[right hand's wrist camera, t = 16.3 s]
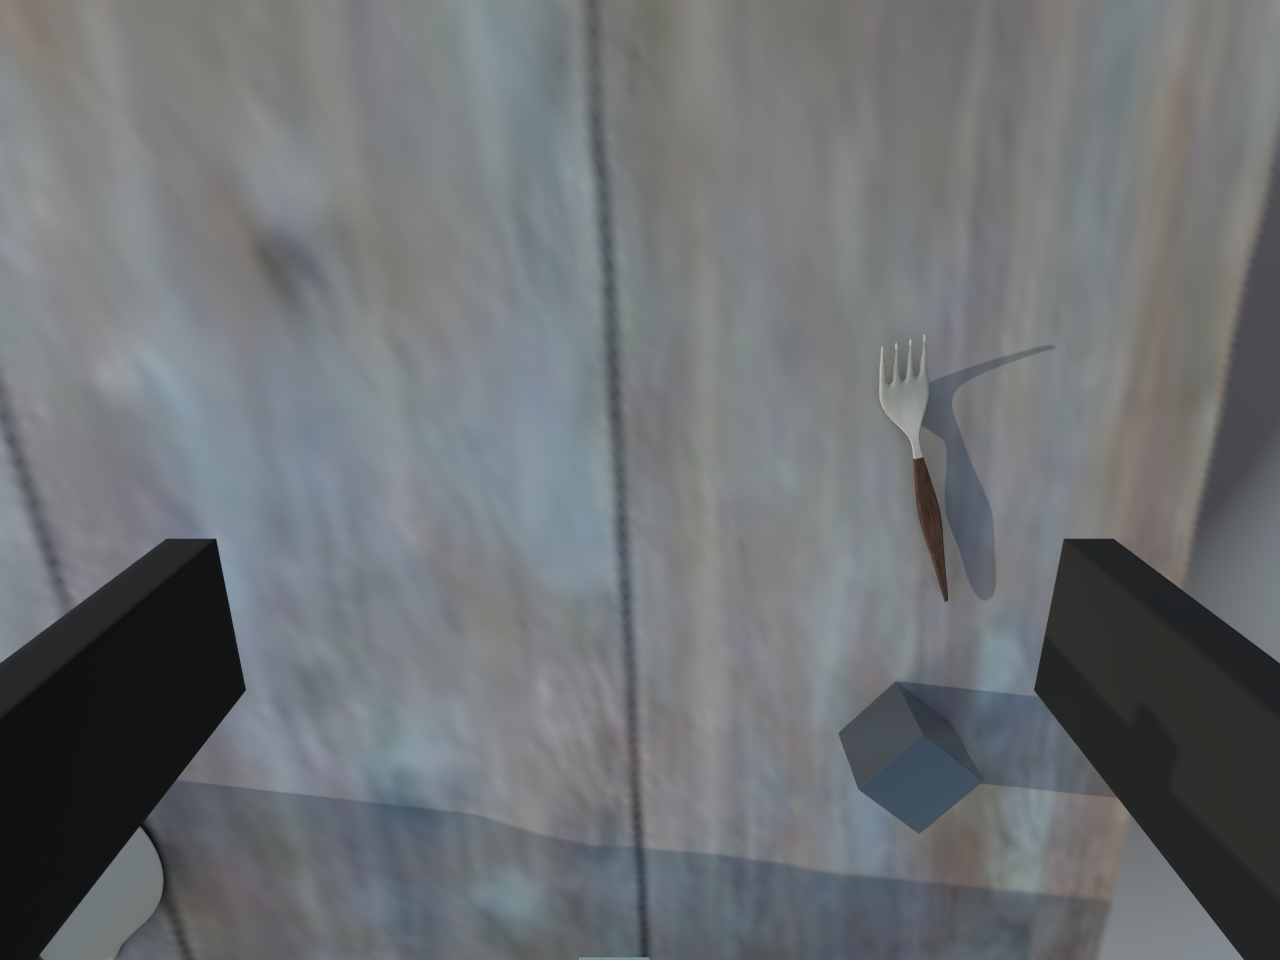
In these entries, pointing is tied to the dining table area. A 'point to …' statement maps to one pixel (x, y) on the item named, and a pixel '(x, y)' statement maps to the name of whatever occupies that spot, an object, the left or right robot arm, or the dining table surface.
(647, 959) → the bar
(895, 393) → the fork
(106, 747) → the right robot arm
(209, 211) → the dining table surface
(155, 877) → the left robot arm
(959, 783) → the slate cube
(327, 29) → the dining table surface
